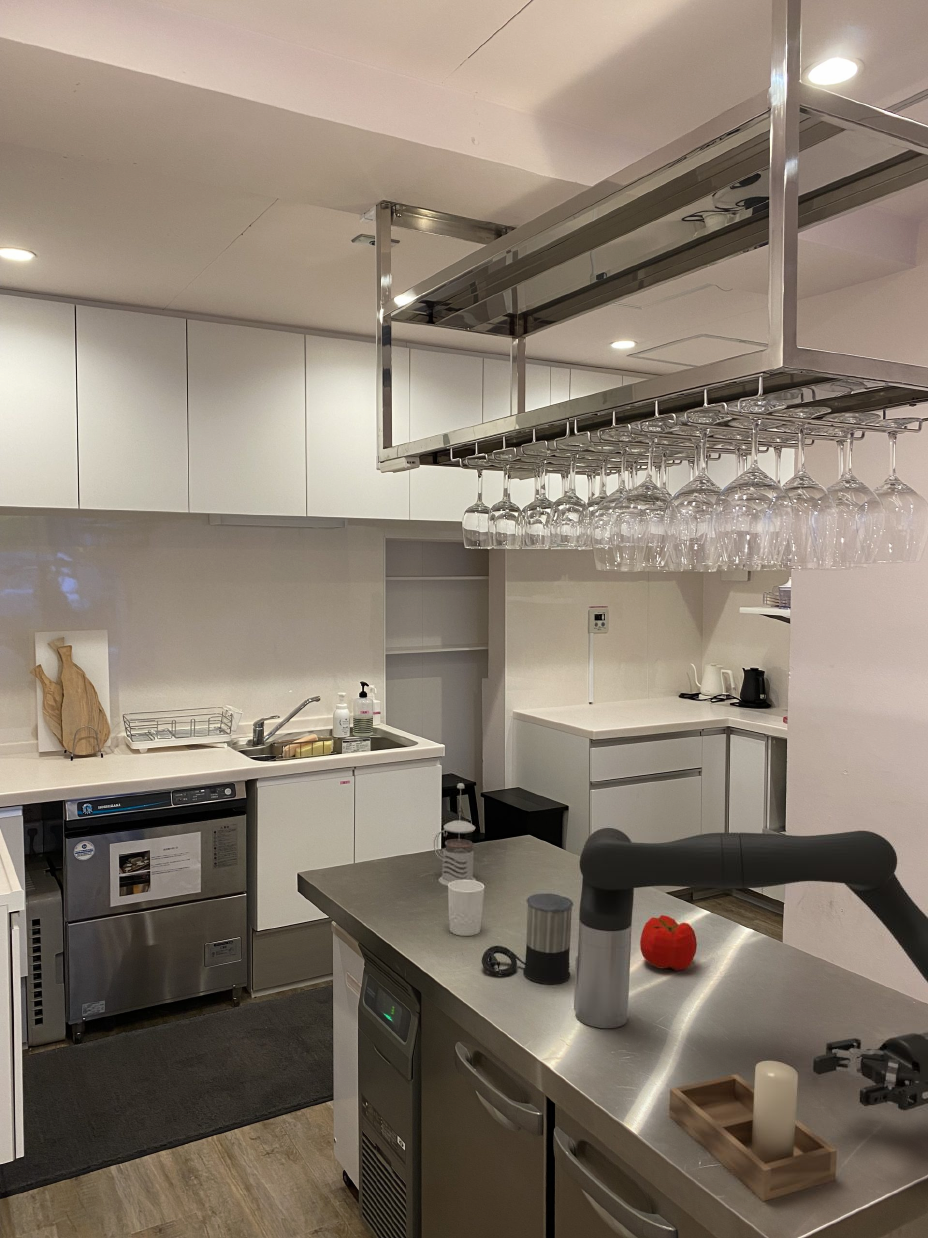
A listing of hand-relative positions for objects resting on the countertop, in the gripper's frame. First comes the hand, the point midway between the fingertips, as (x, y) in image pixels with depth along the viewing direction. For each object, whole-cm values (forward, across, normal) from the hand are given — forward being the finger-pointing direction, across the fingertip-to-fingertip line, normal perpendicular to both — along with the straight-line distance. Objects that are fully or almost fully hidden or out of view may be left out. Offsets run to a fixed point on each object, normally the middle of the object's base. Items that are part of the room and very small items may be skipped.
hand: (837, 1082), depth 130 cm
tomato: (-15, -60, +10) cm, 63 cm away
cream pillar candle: (+11, 0, +9) cm, 14 cm away
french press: (+6, -122, +10) cm, 122 cm away
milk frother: (+14, -66, +10) cm, 68 cm away
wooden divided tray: (+11, -5, +10) cm, 15 cm away
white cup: (+17, -90, +10) cm, 92 cm away
